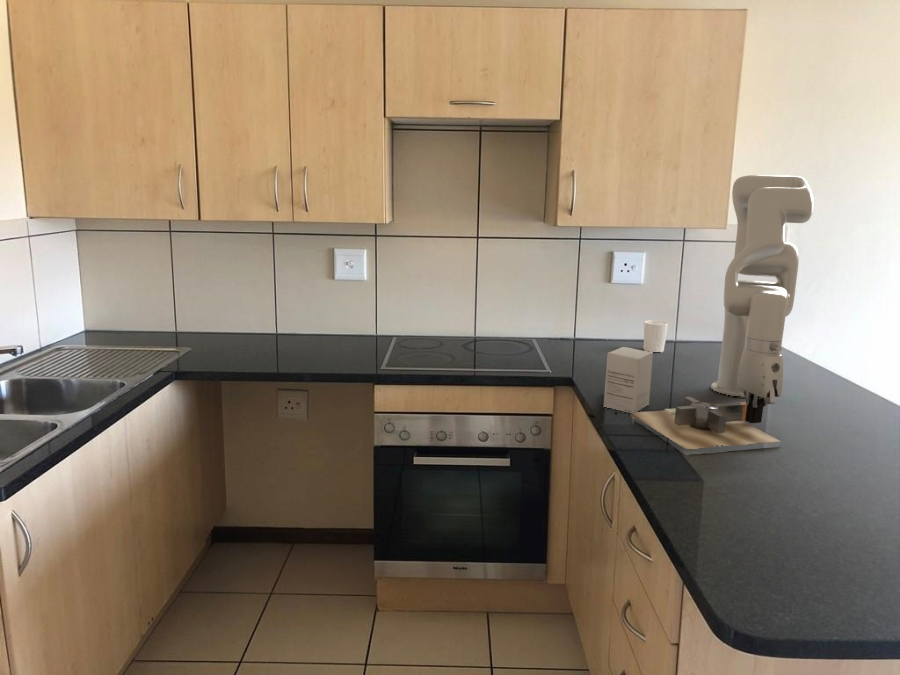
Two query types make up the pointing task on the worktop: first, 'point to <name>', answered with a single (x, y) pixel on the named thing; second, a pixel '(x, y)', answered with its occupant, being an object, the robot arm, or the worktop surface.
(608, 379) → the supplement box
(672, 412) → the level window
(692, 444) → the stand plate
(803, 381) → the worktop surface
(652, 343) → the white cup
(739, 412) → the capstan
